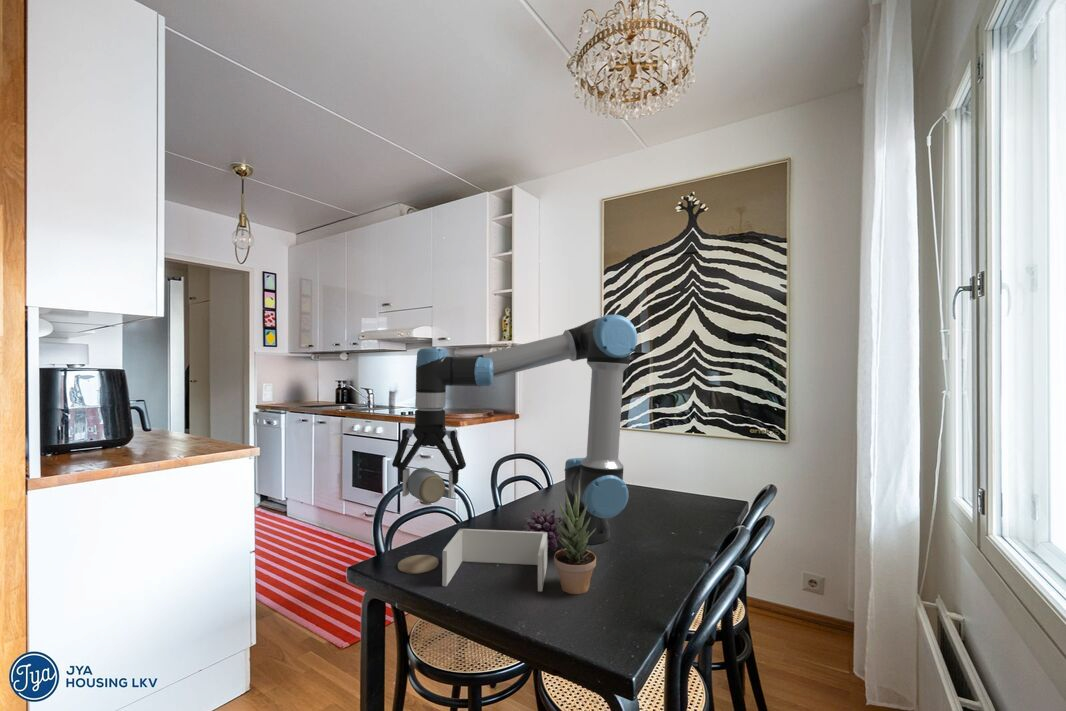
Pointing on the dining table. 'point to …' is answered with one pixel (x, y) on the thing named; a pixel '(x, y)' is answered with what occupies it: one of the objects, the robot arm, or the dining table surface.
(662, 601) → the dining table surface
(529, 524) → the purple round cluster
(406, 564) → the coaster
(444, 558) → the white u-shaped wall
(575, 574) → the potted plant
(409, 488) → the ceramic mug
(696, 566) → the dining table surface
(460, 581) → the dining table surface
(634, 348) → the robot arm
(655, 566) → the dining table surface
